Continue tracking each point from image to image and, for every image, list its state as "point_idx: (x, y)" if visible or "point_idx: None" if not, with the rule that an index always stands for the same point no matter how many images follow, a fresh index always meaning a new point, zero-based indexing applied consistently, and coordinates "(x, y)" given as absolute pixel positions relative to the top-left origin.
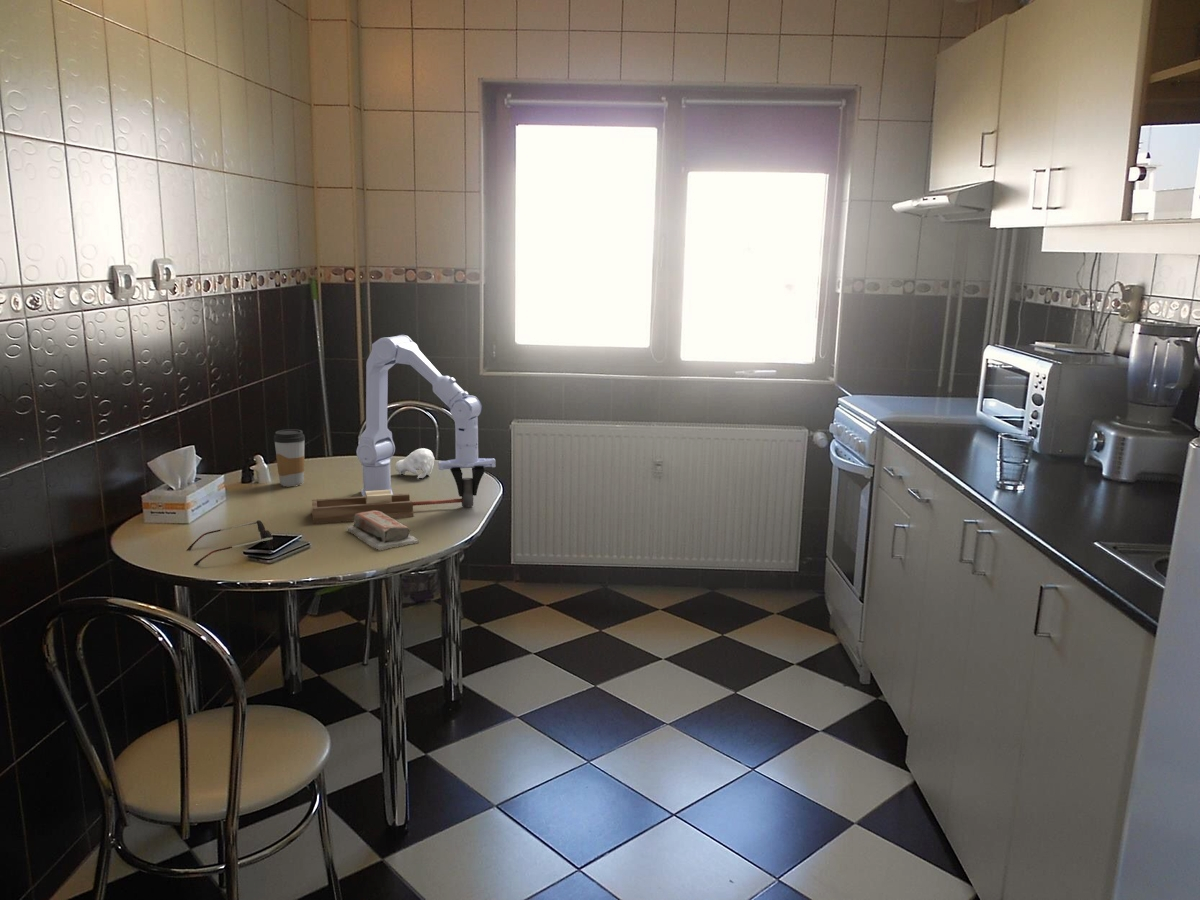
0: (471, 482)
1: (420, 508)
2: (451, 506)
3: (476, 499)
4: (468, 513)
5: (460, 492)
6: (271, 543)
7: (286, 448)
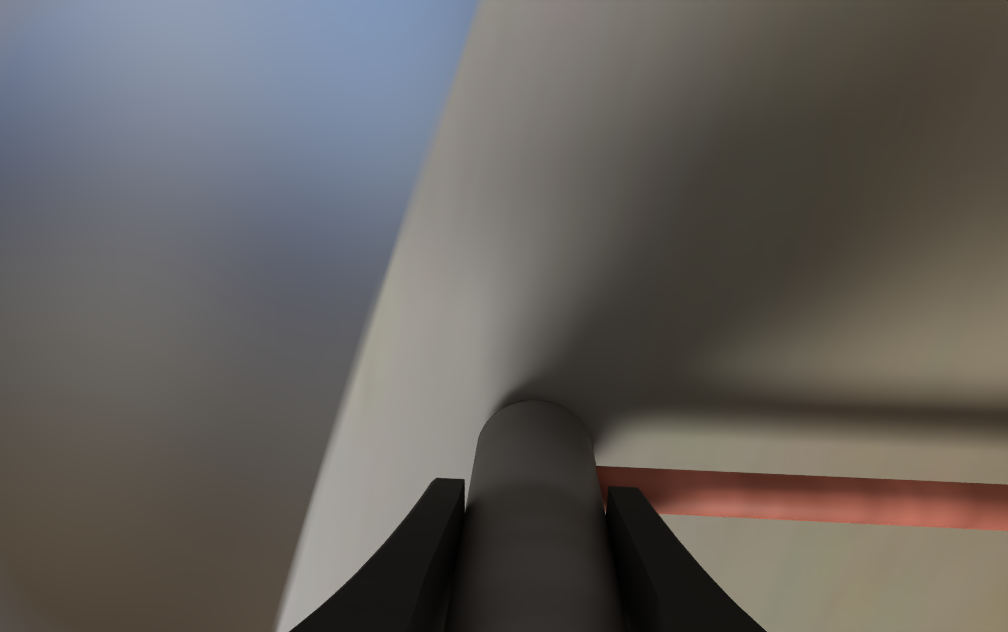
0: (478, 619)
1: None
2: None
3: None
4: (577, 230)
5: (647, 513)
6: None
7: None
